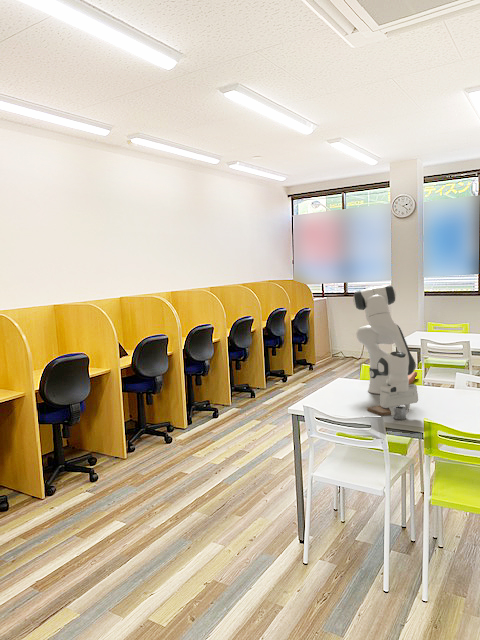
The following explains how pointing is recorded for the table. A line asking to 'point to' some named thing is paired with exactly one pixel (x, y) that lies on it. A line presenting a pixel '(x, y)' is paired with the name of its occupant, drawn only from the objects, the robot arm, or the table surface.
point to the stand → (379, 410)
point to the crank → (412, 377)
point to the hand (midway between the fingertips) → (399, 414)
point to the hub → (400, 412)
